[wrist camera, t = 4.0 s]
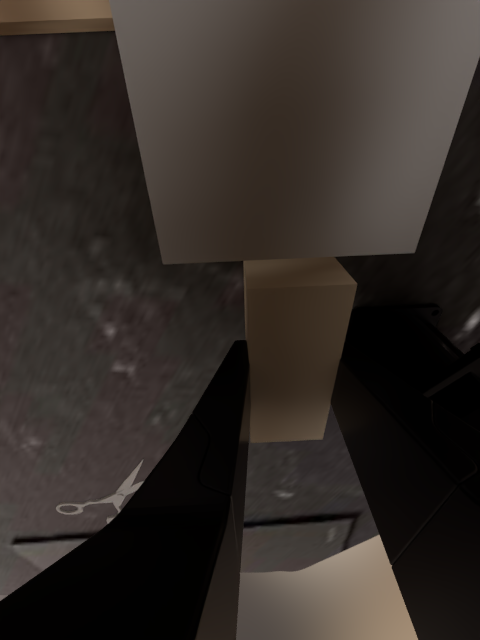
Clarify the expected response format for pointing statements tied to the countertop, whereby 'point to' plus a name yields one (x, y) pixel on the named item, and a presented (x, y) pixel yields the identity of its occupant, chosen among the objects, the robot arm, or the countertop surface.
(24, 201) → the countertop surface
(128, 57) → the turner
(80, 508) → the scissors
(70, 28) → the oak board
